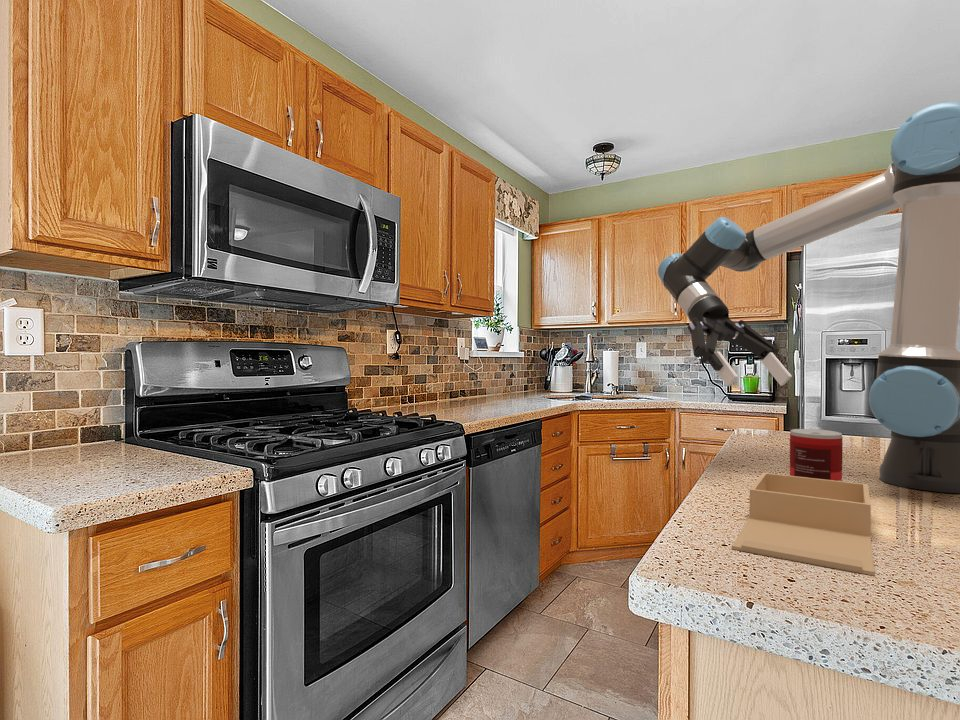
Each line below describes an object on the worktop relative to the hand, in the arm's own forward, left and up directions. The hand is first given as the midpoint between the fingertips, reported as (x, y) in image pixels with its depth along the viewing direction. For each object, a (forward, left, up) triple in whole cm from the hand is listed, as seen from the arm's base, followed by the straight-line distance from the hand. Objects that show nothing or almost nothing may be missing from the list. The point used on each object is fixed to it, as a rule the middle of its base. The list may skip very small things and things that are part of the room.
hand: (760, 381), depth 103 cm
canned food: (-4, +10, -19) cm, 22 cm away
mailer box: (+9, +29, -19) cm, 36 cm away
